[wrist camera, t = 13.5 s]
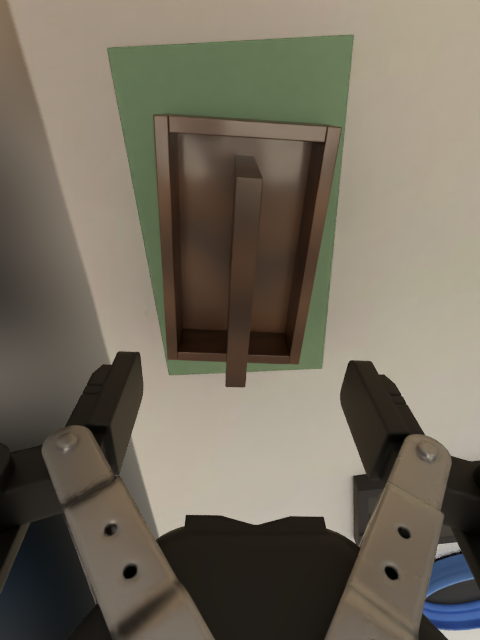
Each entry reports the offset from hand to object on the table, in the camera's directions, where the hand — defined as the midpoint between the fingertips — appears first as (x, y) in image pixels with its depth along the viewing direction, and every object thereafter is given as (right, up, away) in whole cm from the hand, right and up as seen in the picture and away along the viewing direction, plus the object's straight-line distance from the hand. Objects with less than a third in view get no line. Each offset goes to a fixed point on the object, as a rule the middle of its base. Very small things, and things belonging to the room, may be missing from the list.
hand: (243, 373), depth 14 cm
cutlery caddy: (0, +8, +12) cm, 15 cm away
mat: (0, +8, +13) cm, 15 cm away
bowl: (+34, -37, +41) cm, 65 cm away
